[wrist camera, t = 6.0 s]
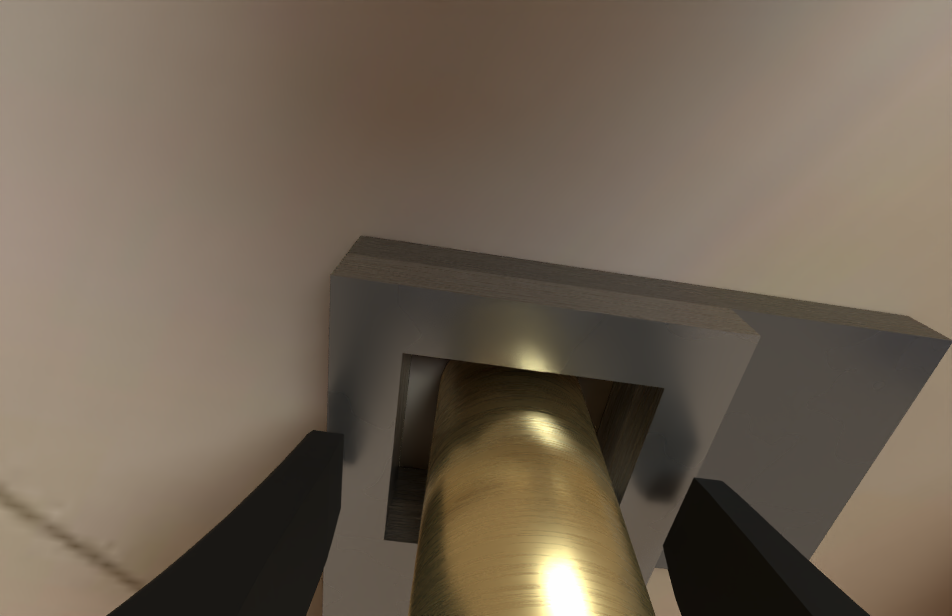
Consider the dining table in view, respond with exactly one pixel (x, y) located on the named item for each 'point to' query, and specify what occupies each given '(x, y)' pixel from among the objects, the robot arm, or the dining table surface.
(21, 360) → the dining table surface
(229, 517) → the robot arm
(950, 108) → the dining table surface
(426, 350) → the upper link
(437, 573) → the pin
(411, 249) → the lower link
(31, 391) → the dining table surface
